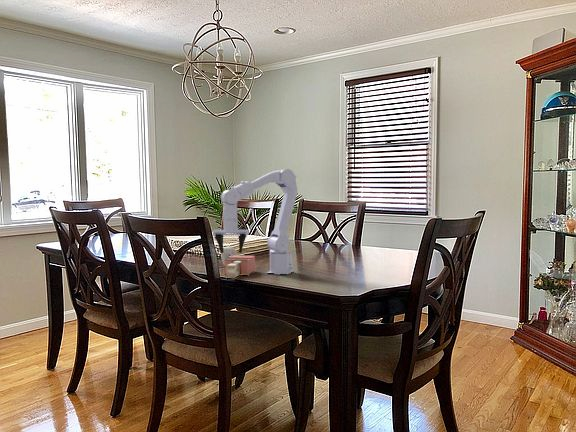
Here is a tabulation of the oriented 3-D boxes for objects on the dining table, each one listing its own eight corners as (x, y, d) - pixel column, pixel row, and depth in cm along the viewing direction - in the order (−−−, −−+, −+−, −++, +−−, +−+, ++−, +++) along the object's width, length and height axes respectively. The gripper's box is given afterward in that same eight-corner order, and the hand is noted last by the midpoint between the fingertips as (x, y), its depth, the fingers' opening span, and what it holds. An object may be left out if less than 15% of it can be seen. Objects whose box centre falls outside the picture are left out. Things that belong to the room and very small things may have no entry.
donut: (239, 268, 218) (239, 246, 217) (233, 269, 216) (233, 247, 215) (225, 266, 225) (225, 244, 224) (220, 267, 223) (219, 245, 222)
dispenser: (233, 270, 214) (233, 255, 213) (255, 271, 211) (254, 255, 211) (225, 275, 204) (224, 259, 203) (247, 276, 201) (247, 259, 201)
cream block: (236, 273, 208) (236, 260, 208) (244, 273, 207) (243, 260, 207) (226, 279, 197) (226, 265, 196) (234, 279, 196) (233, 265, 195)
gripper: (249, 218, 200) (250, 251, 201) (215, 218, 201) (216, 251, 202) (246, 219, 193) (247, 253, 194) (210, 220, 194) (212, 253, 195)
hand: (231, 252), depth 197 cm, fingers open, 7 cm apart
